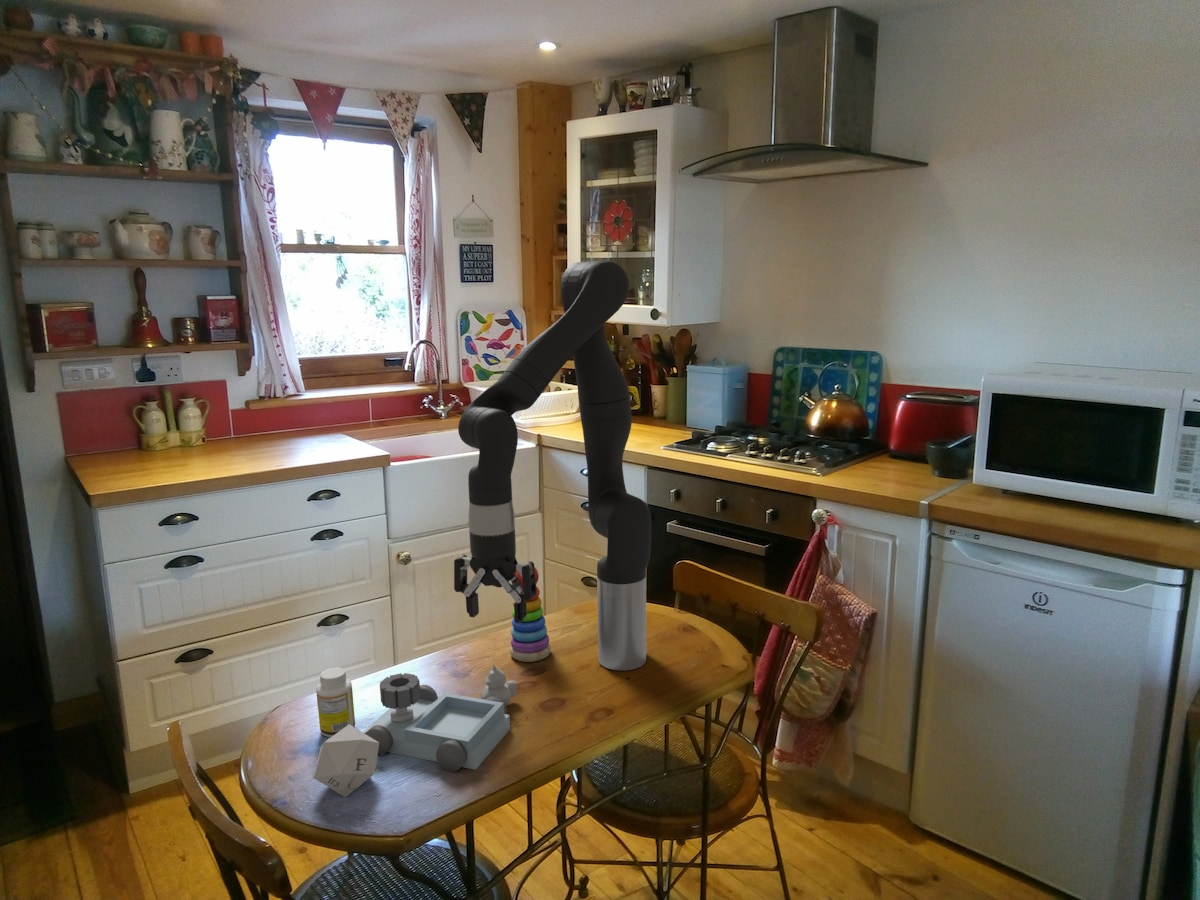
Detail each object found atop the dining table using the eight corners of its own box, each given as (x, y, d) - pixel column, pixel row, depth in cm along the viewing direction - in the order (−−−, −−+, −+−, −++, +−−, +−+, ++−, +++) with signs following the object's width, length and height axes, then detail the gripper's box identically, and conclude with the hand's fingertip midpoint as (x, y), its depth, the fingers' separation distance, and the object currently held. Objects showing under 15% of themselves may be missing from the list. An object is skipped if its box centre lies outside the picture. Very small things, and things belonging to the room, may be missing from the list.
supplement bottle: (336, 718, 138) (331, 662, 136) (362, 724, 136) (357, 668, 134) (312, 735, 133) (307, 677, 131) (339, 742, 131) (334, 683, 129)
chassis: (409, 705, 142) (407, 672, 141) (514, 723, 136) (512, 689, 134) (356, 752, 128) (353, 716, 127) (470, 775, 122) (468, 738, 120)
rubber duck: (476, 703, 143) (474, 661, 141) (511, 693, 146) (509, 652, 144) (488, 717, 138) (486, 673, 136) (524, 706, 141) (522, 664, 140)
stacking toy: (532, 642, 166) (529, 554, 162) (559, 654, 161) (556, 563, 157) (501, 655, 161) (498, 564, 157) (528, 667, 155) (525, 574, 151)
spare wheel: (395, 687, 137) (394, 671, 136) (426, 693, 135) (425, 676, 134) (374, 705, 131) (372, 688, 131) (406, 711, 129) (405, 693, 129)
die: (308, 809, 116) (337, 768, 112) (301, 752, 122) (329, 712, 118) (364, 806, 121) (394, 767, 117) (355, 752, 127) (383, 713, 123)
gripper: (540, 523, 136) (543, 615, 140) (464, 517, 141) (469, 605, 144) (521, 537, 129) (525, 632, 133) (442, 529, 134) (448, 622, 137)
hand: (496, 618), depth 139 cm, fingers open, 8 cm apart
